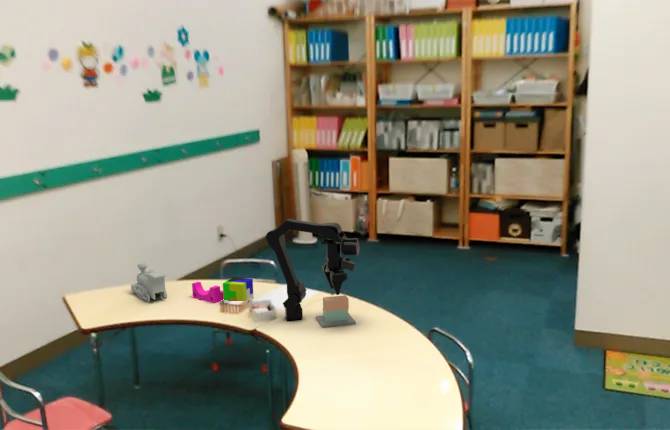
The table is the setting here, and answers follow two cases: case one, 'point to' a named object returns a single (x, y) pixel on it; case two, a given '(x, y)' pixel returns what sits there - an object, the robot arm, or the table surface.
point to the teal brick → (335, 315)
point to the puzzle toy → (238, 289)
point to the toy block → (207, 293)
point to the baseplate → (335, 322)
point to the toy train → (149, 283)
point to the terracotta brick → (335, 303)
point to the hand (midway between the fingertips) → (335, 291)
